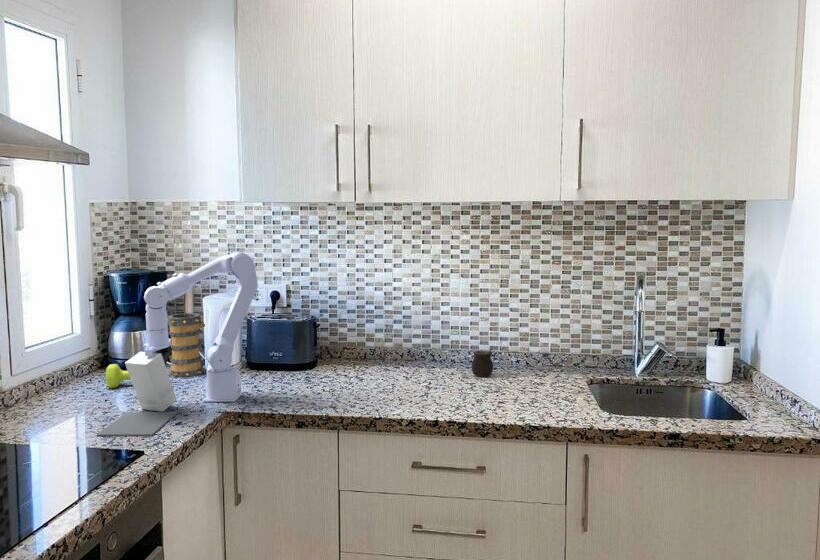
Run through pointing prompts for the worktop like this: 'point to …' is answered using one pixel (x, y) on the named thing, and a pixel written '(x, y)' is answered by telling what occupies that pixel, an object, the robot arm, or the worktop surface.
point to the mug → (185, 344)
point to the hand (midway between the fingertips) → (159, 375)
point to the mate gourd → (482, 363)
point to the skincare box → (151, 381)
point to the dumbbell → (115, 375)
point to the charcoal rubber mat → (138, 424)
